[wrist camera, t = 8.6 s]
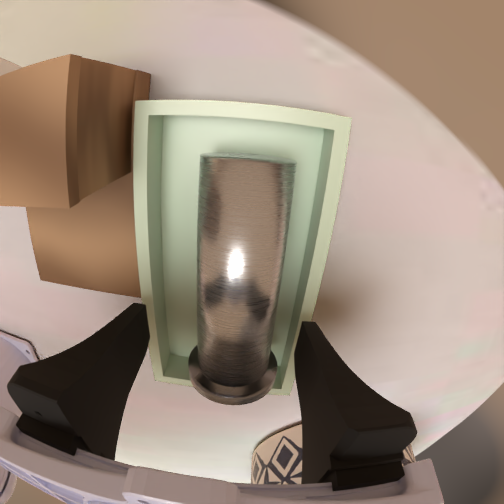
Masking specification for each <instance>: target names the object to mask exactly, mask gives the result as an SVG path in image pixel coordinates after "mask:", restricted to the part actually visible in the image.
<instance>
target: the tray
mask: <svg viewBox="0 0 504 504" xmlns="http://www.w3.org/2000/svg"><path fill="white" fill-rule="evenodd" d="M351 121H352V118H350V117H345V116H340V115H335V114H330V113H324V112H318V111H312V110H306V109H299V108H292V107H284V106H276V105H267V104H257V103H246V102H232V101H213V100H142V101H135V115H134V143H133V188H134V217H135V234H136V248H137V260H138V271H139V281H140V290H141V298H142V304H145V305H146V309H147V317H148V324H149V331H150V340H149V344H148V346H149V352H150V357H151V363H152V368H153V373H154V378H155V381H160V382H166V383H172V384H178V385H184V386H191V387H194V386H193V385H192V383H191V380H190V377H189V366H188V359H189V355H190V353H191V351H192V350H193V348H194V347H195V346H196V345H197V216H198V188H199V166H200V154H203V153H212V152H234V153H250V154H261V155H269V156H275V157H281V158H286V159H290V160H294V161H296V162H297V165H296V174H295V183H294V191H293V199H292V207H291V215H290V223H289V230H288V238H287V245H286V252H285V259H284V267H283V273H282V280H281V287H280V294H279V300H278V307H277V313H276V320H275V326H274V332H273V338H272V345H271V351H272V352H273V354H274V355H275V357H276V360H277V373H276V378H275V382H274V385H273V387H272V389H271V390H270V391H269V392H268V393H267V394H271V395H290V392H291V389H292V386H293V383H294V380H295V367H294V351H295V347H296V343H297V340H298V336H299V332H300V328H301V324H302V321H310V322H311V320H312V316H313V313H314V309H315V305H316V301H317V297H318V293H319V289H320V285H321V281H322V276H323V272H324V268H325V264H326V259H327V255H328V250H329V246H330V241H331V236H332V231H333V227H334V222H335V217H336V212H337V206H338V201H339V196H340V190H341V185H342V179H343V173H344V167H345V161H346V155H347V149H348V142H349V135H350V128H351Z"/></svg>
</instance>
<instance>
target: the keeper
mask: <svg viewBox="0 0 504 504" xmlns="http://www.w3.org/2000/svg"><path fill="white" fill-rule="evenodd" d="M150 76H151V74H149V73H145V72H142V71H138V70H132V69H128V68H125V67H121V66H117V65H113V64H109V63H105V62H100V61H96V60H91V59H86V58H82V56H77V55H72V54H69V55H65V56H61V57H57V58H53V59H50V60H46V61H43V62H39V63H36V64H33V65H30V66H26V67H23V68H20V69H18V70H15V71H12V72H9V73H6V74H4V75H1V76H0V206H21V207H26V211H27V217H28V224H29V229H30V235H31V240H32V245H33V250H34V254H35V259H36V263H37V267H38V271H39V275H40V279H41V280H43V281H48V282H53V283H58V284H63V285H68V286H74V287H79V288H84V289H90V290H96V291H102V292H108V293H114V294H120V295H126V296H133V297H139V298H141V290H140V281H139V271H138V260H137V248H136V234H135V217H134V188H133V143H134V115H135V101H142V100H149V87H150Z"/></svg>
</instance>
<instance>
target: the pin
mask: <svg viewBox="0 0 504 504" xmlns="http://www.w3.org/2000/svg"><path fill="white" fill-rule="evenodd" d="M296 165H297V162H296V161H294V160H290V159H286V158H281V157H275V156H269V155H261V154H250V153H234V152H212V153H203V154H200V166H199V188H198V216H197V345H196V346H195V347H194V348H193V350H192V351H191V353H190V355H189V359H188V366H189V377H190V380H191V383H192V385H193V386H194V388H195V389H196V390H197V391H198V392H199V393H200V394H201V395H203V396H204V397H206V398H208V399H209V400H212V401H214V402H217V403H221V404H226V405H242V404H248V403H252V402H254V401H257V400H259V399H261V398H262V397H264V396H265V395H266V394H267V393H268V392H269V391H270V390H271V389H272V387H273V385H274V382H275V378H276V373H277V360H276V357H275V355H274V354H273V352H272V351H271V345H272V338H273V332H274V326H275V320H276V313H277V307H278V300H279V294H280V287H281V280H282V273H283V267H284V259H285V252H286V245H287V238H288V230H289V223H290V215H291V207H292V199H293V191H294V183H295V174H296Z"/></svg>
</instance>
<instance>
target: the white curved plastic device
mask: <svg viewBox="0 0 504 504" xmlns="http://www.w3.org/2000/svg"><path fill="white" fill-rule="evenodd" d="M20 68H23V67H21V66H18V65H16V64H14V63H12V62H9V61H7V60H5V59H2V58H0V76H1V75H4V74H6V73H9V72H12V71H15V70H18V69H20Z"/></svg>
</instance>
